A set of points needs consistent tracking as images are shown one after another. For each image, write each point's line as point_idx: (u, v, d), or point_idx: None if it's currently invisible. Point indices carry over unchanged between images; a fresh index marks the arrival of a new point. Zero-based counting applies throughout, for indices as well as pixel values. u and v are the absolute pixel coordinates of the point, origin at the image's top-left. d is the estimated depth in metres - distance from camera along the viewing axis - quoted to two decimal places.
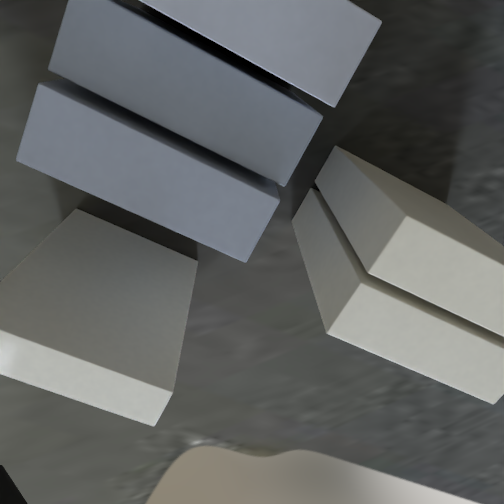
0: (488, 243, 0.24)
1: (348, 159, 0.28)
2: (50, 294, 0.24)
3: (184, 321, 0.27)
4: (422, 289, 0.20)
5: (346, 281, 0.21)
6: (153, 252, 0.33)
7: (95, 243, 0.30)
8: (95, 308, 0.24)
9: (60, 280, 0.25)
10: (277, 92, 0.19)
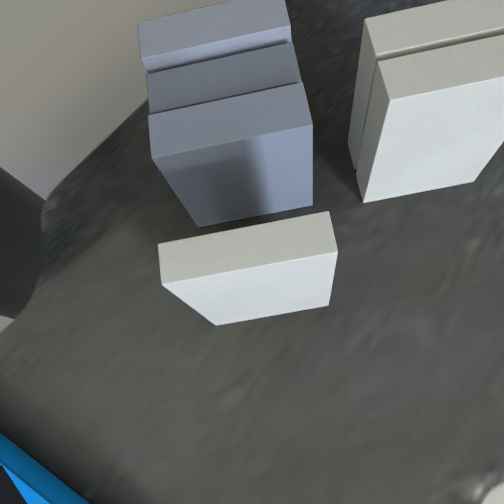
0: None
1: (351, 116, 0.39)
2: None
3: None
4: (416, 40, 0.28)
5: (377, 83, 0.29)
6: None
7: None
8: None
9: None
10: (262, 49, 0.32)
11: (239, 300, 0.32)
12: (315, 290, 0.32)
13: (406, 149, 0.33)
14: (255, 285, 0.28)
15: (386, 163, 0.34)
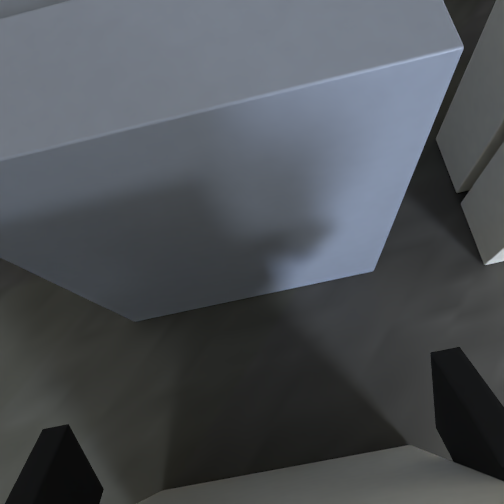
0: None
1: (464, 75, 0.17)
2: None
3: (488, 478, 0.09)
4: None
5: None
6: (321, 466, 0.16)
7: (202, 496, 0.14)
8: None
9: None
10: None
11: None
12: None
13: None
14: None
15: None
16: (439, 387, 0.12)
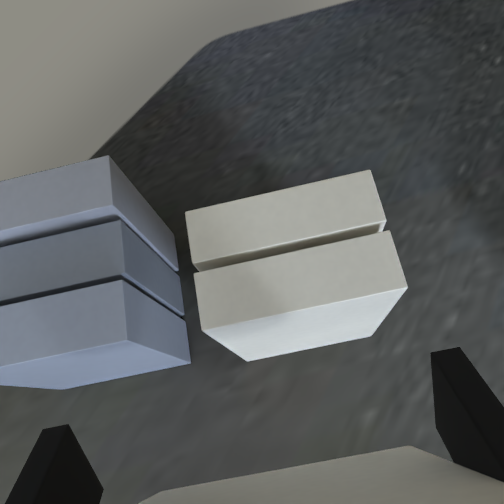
0: None
1: None
2: None
3: (488, 479, 0.09)
4: (241, 245, 0.23)
5: None
6: (320, 467, 0.16)
7: (202, 497, 0.14)
8: None
9: None
10: (85, 228, 0.27)
11: None
12: None
13: (262, 340, 0.27)
14: None
15: (247, 347, 0.29)
16: (439, 387, 0.12)
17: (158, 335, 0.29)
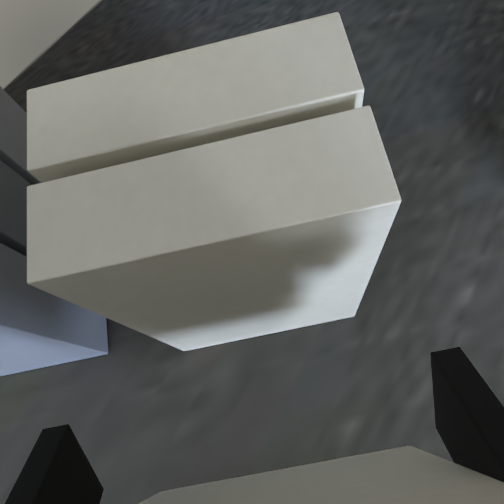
0: None
1: None
2: None
3: (488, 479, 0.09)
4: (111, 138, 0.13)
5: None
6: (321, 466, 0.16)
7: (202, 497, 0.14)
8: None
9: None
10: None
11: None
12: None
13: (177, 314, 0.18)
14: None
15: (162, 327, 0.19)
16: (439, 387, 0.12)
17: (32, 308, 0.20)
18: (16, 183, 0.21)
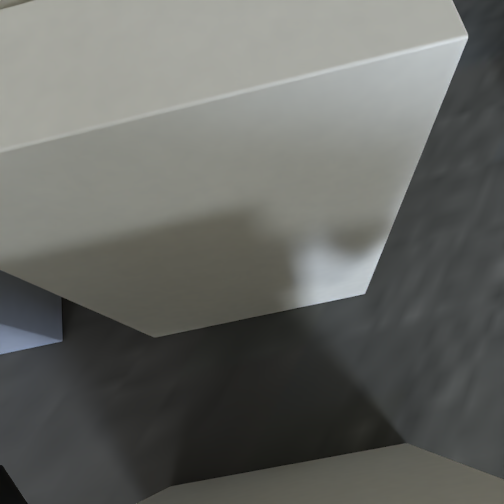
0: None
1: None
2: None
3: (474, 471, 0.10)
4: None
5: None
6: (322, 463, 0.17)
7: (210, 491, 0.15)
8: None
9: None
10: None
11: None
12: None
13: (125, 277, 0.13)
14: None
15: (111, 298, 0.14)
16: None
17: None
18: None
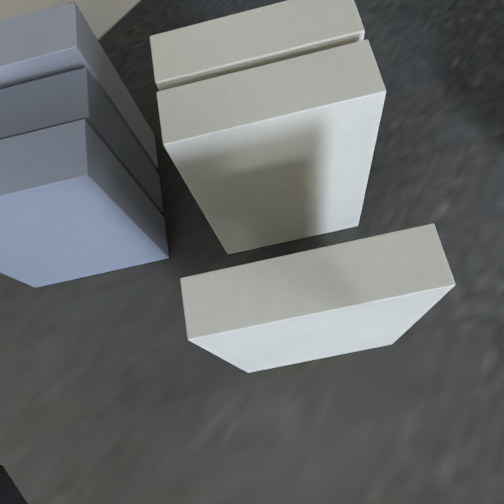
0: None
1: None
2: None
3: None
4: (208, 62, 0.21)
5: None
6: None
7: None
8: None
9: None
10: (49, 77, 0.26)
11: (288, 348, 0.23)
12: (389, 330, 0.24)
13: (236, 197, 0.26)
14: (317, 331, 0.20)
15: (222, 213, 0.27)
16: None
17: (129, 202, 0.28)
18: (114, 116, 0.29)
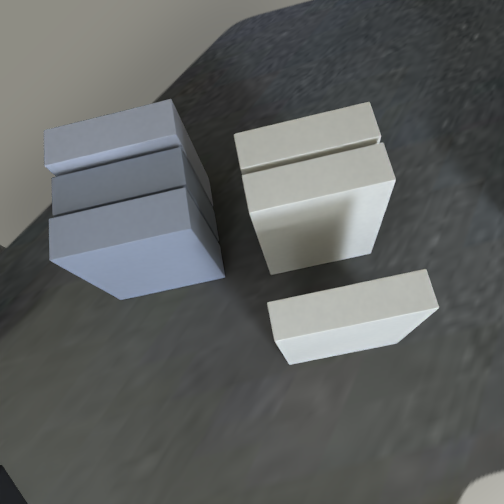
0: None
1: None
2: None
3: None
4: (276, 155, 0.31)
5: None
6: None
7: None
8: None
9: None
10: (154, 153, 0.36)
11: (326, 346, 0.34)
12: (396, 334, 0.34)
13: (287, 239, 0.36)
14: (350, 335, 0.30)
15: (275, 249, 0.38)
16: None
17: (206, 240, 0.38)
18: (193, 176, 0.39)
